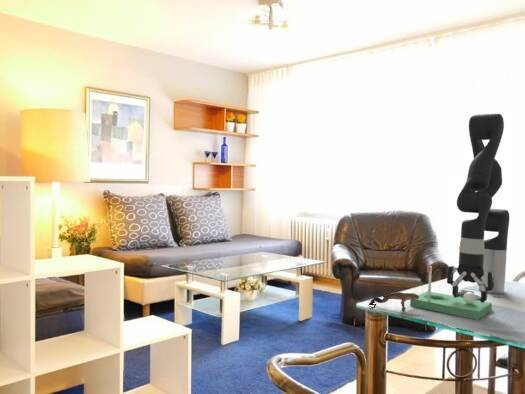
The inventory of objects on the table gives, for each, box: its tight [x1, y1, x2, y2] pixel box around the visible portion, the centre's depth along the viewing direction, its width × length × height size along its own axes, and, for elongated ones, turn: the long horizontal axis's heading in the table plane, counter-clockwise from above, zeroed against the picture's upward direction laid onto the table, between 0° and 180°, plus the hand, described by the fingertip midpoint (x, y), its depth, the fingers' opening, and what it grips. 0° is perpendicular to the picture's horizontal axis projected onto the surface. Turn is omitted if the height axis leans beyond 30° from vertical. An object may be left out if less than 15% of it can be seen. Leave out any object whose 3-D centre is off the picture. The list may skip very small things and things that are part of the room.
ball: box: [463, 291, 476, 304], centre depth 157 cm, size 4×4×4 cm
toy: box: [368, 291, 419, 312], centre depth 157 cm, size 6×9×15 cm
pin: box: [426, 265, 433, 302], centre depth 157 cm, size 3×1×12 cm, turn 140°
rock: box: [458, 290, 481, 301], centre depth 169 cm, size 8×10×4 cm
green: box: [409, 290, 493, 320], centre depth 161 cm, size 16×22×2 cm
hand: (468, 299), depth 157 cm, fingers open, 8 cm apart
